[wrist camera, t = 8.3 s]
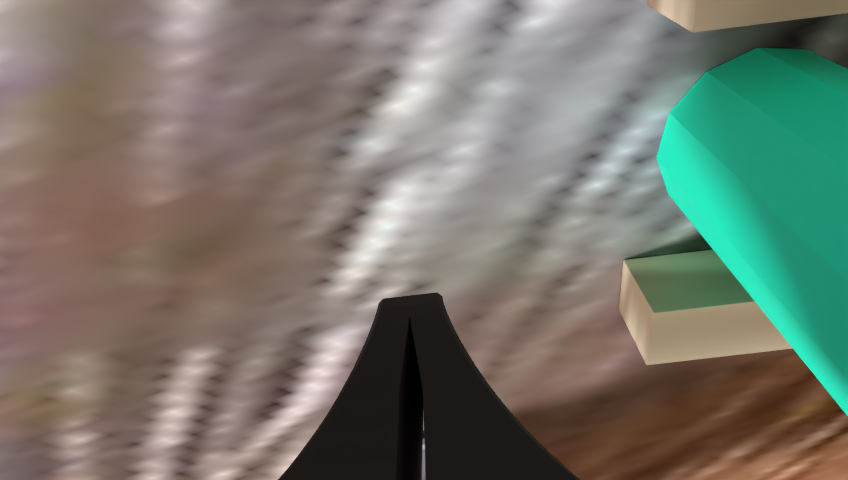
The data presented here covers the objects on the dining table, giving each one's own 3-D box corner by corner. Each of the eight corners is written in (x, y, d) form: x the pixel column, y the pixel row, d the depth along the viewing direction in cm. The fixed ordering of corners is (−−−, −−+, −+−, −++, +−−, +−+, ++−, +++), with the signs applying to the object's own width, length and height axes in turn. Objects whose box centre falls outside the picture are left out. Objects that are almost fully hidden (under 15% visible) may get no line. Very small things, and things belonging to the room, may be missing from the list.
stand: (894, 316, 24) (953, 370, 22) (615, 348, 24) (641, 405, 22) (1142, -252, 14) (1303, -274, 12) (666, -188, 14) (723, -196, 12)
